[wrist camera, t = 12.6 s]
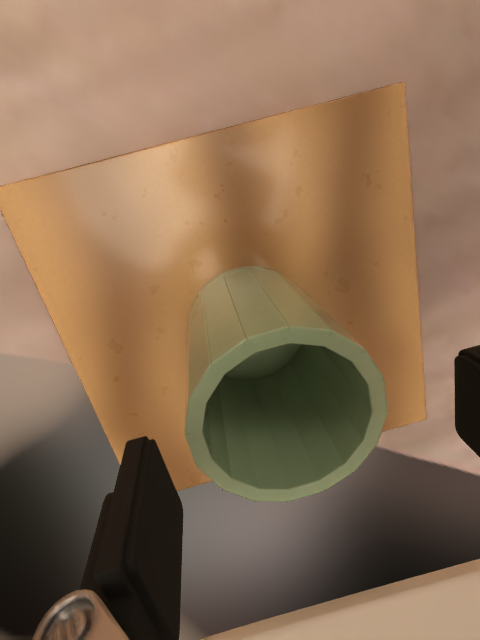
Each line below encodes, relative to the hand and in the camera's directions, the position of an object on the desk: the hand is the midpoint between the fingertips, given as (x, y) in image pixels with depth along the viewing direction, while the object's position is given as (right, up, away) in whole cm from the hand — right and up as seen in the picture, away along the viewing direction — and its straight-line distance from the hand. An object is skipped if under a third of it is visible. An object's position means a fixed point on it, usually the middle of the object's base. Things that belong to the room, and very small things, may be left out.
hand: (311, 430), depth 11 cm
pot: (-2, +3, +10) cm, 10 cm away
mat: (-2, +3, +10) cm, 11 cm away
